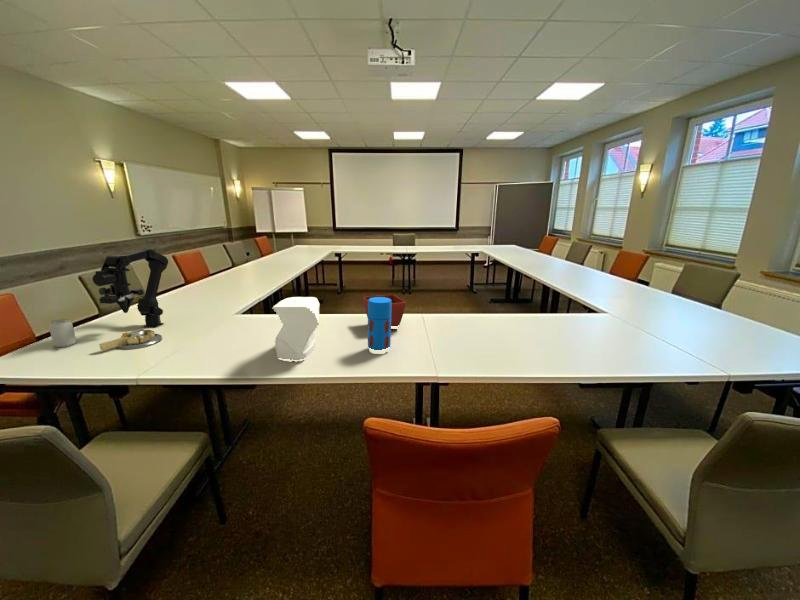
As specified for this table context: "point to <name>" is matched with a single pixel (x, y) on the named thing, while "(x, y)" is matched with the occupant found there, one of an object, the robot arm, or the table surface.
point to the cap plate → (140, 345)
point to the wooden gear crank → (128, 339)
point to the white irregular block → (297, 327)
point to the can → (62, 333)
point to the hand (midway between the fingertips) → (125, 312)
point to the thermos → (379, 323)
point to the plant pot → (396, 308)
